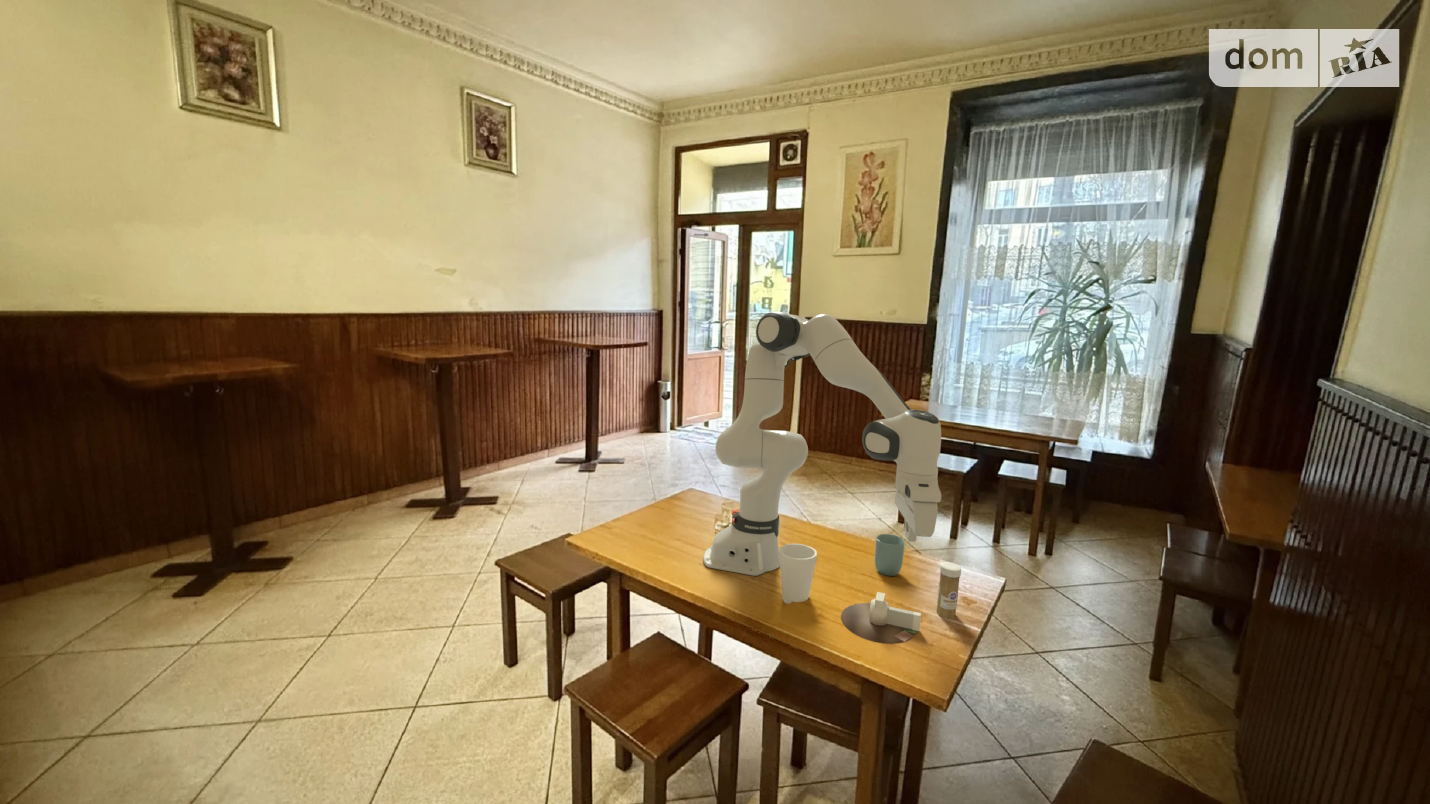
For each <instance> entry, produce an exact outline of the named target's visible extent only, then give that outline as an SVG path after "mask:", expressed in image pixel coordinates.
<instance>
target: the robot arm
mask: <svg viewBox="0 0 1430 804" xmlns="http://www.w3.org/2000/svg"><path fill="white" fill-rule="evenodd" d="M755 337H756V341H757V342H756V343H754V344H753V345H751V346H750V348H749V351H748V354H747V360H746V364H745V371H744V389H743V397H742V399H743V400H742V405H741V410H740V412H739V413H738V414H739V415H738V416H737V417H736V419H735V420H734V422H733V423H732V424H731V425H730V426H729V427H727V428H726V429H724V430H723V431H722V432H721V433H720V434H719V436H718V437H717V440H716V443H715V454H716V456H717V458H718V460H719V461H720V462H721V464H722V465H727V466H730V467H733V468H734V467H735V468H740V469H742V468H743V469H759V470H763V471H762V473H761V474H760V475H759V476H757V477H754V478H752V479H750V480H747V481H746V482H744V484H743V485H742V486H741V488H740V493H739V510H738V509H735V508H734V509H733V510H732V512H731V516H732V517H731V518H732V519H731V524H730V525H729V526H727V527H724V529H722V530H720V531H718V533H717V534H716V535H715V537H714V539H713V542H712V544H711V546H709V547H708V548H707V549H706V550H705V552H704V554H703V559H702V560H703V564H704V566H706V567H707V568H710V569H715V570H721V571H726V572H727V571H728V572H732V573H738V574H743V575H748V576H760V575H761V574H764V573H767V572H771V571H774V570H777V569H779V568H780V561H779V549H780V547H779V538H778V537H779V534H780V525H781V524H780V515H779V506H780V505H779V504H780V497H781V491H782V488H783V486H784V484H785V482H786V480H787V479H788V478H789V476H791V475H792V473H794V472H795V471H796V470H799V468H801V467H802V466H803V465H804V464H805V463H806V461H807V459H808V456H809V455H808V454H809V448H808V444H807V440H806V439H805V438H804V436H803V435H802V434H801V433H800V434H799V433H796V432H794V431H793V432H792V431H788V430H779V429H778V430H776V429H775V430H774V429H773V430H772V429H762V428H760V425H761V423H762V422H763V421H764V420H767V419H769V418H771V417H773V416H776V415H777V414H778V413H780V412H781V410H782V409H783V405H784V393H785V392H784V391H785V390H784V388H785V387H784V386H785V385H784V384H785V366H786V364H787V362H788V361H789V360H790V361H793V362H796V361H798V360H800V359H802V358H807V357H809V356H811V358H812V359H813V362H814V363H815V366H817V369H818V370H819V372H820V373H821V375H822V376H823V377H824V378H825V379H826V381H828V382H829V383H830V384H832V385H834V386H836V387H841V388H844V389H845V388H846V389H849V390H853V391H855V392H858V393H861V394H863V395H865V397H867V398H868V399H870V400H871V401H872V402H873V405H875V406H876V408H877V409H878V411H880V413H881V414H882V416H883V417H884V418H883V419H877V420H874V421H871V422H869V423H868V424H867V425H866V426H865V427H864V428H863V432H862V436H861V443H862V447H863V449H864V451H865V452H866V454H867V455H868V456H869V457H870V458H872V459H874V460H877V461H878V460H879V461H887V462H888V461H889V462H890V461H894V462H895V463H896V473H895V483H894V487H895V488H896V490H895V499H894V501H895V502H894V504H895V506H896V507H897V509H898V511H899V512H900V514H901V516H902V517H903V518H904V527H905V531H904V532H905V534H904V536H905V537H906V539H907V541H908V542H910V543H911V542H912V543H913V542H914V543H915V542H916V541H917V539H918V538H917V537H924V538H931V537H932V536H933V534H934V532H935V529H936V524H937V517H938V509H939V508H938V503H941V501H942V492H941V490H940V487H939V480H938V476H939V475H938V474H939V467H938V459H939V457H940V454H941V446H942V445H941V444H942V427H941V422H940V420H939V418H938V417H937V416H936V415H935V414H934V413H932V412H929V411H926V410H921V409H914V408H913V409H912V408H911V407H910V406H909V405H908V404H907V403H906V402H905V400H904V399H903V398H902V397H901V396H900V394H899V393H898V392H897V390H896V389H895V388H894V386H893V385H892V384H891V383H890V382H889V380H888V379H887V378H886V376H885V375H884V374H883V373H882V372H881V371H880V370H879V369H878V368H877V367H876V366H875V365H874V364H873V363H872V362H870V360H868V358H867V357H866V356H865V355H864V354H863V353H862V352H861V350H860V348H859V347H858V346H857V345H856V343H855V342H854V340H853V338H852V337H851V335H850V334H849V333H848V331H847V330H846V329H845V327H844V326H843V325H842V324H841V323H840V322H839V321H838V319H836V318H835V317H834V316H833V315H831V314H829V313H828V314H827V313H821V314H817V315H815V316H813V317H812V318H810V319H808V318H805V317H803V316H801V315H797V314H791V313H790V314H789V313H786V312H782V311H771V312H767V313H765V314H764V315H762V316H761V318H760V319H759V320H758V322H757V324H756V328H755Z"/></svg>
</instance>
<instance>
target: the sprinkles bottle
mask: <svg viewBox="0 0 1430 804" xmlns="http://www.w3.org/2000/svg"><path fill="white" fill-rule="evenodd" d="M939 574H940V575H939V583H938V588H937V589H938V590H937V598H936V605H937V606H936V614H937V615H938V616H940V617H941V618H944V619H954V618H956V614H957V613H956V612H957V606H958V598H959V587H960V586H959V585H960V578H961V576H962V575H961V574H962V568H961V566H960V565H958V564H956V563H953V562H947V561H946V562H941V564H940V567H939Z"/></svg>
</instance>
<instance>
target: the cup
mask: <svg viewBox="0 0 1430 804" xmlns="http://www.w3.org/2000/svg"><path fill="white" fill-rule="evenodd" d="M905 544H906V543H905V540H904V539H903V537H902V536H899V535H895V534H892V533H891V534H890V533H882V534H881V533H880V534H878V535H877V536H876V537H875V543H874V546H875V547H874V566H875V569H876V570H877V572H878V573H879V574H882V575H884V576H886V577H895V576H896V575H899V573H900V572H901V570H902V568H903V562H904V557H905V547H906V546H905Z"/></svg>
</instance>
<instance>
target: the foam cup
mask: <svg viewBox="0 0 1430 804" xmlns="http://www.w3.org/2000/svg"><path fill="white" fill-rule="evenodd" d="M817 556H818V551H817V550H816V548H814V547H812V546H809V545H807V544H802V543H787V544H783V545H782V546H780V547H779V561H780V566H779V568H780V569H779V571H780V581H781V582H780V583H781V592H782V593H781V595H782V601H783V602H784V603H785V604H787V605H790V604H792V603H793V602H794V603H802V602H806V601H807V600H808V599H809V597H810V593H811V588H812V582H813V578H814V573H815V568H816V564H817V561H818V560H817V559H818V557H817Z"/></svg>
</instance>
